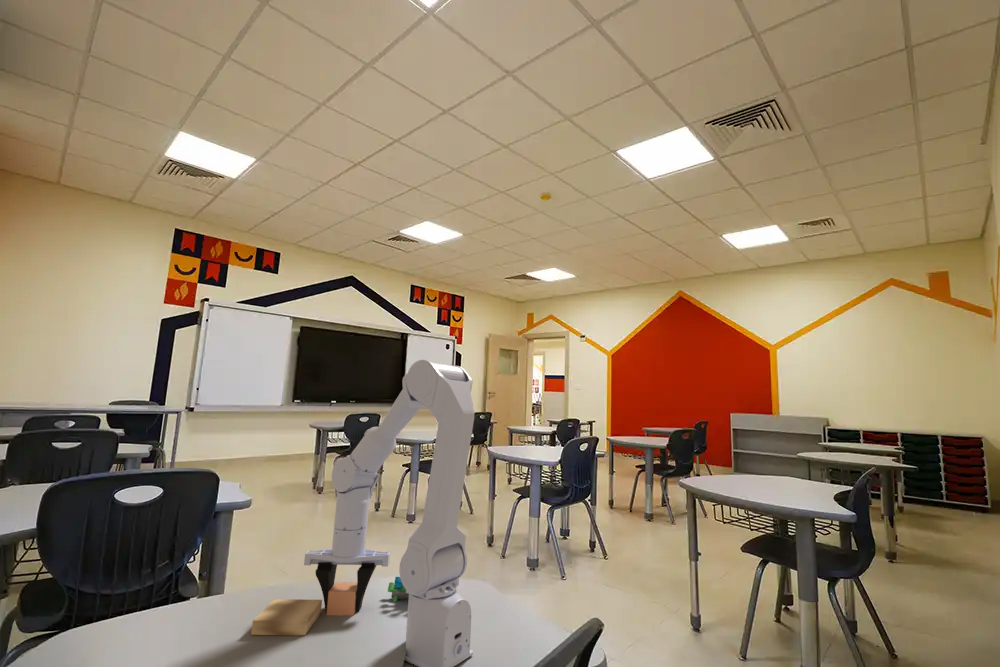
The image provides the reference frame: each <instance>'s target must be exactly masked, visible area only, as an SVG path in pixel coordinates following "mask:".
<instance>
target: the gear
mask: <svg viewBox="0 0 1000 667" xmlns="http://www.w3.org/2000/svg"><path fill="white" fill-rule="evenodd" d="M387 592H388V593H391V599H392V603H397V602H398V599H399V600H401V599H409V594H408V593H406V589H405V588H404V586H403V584H402V582H401V578H400V576H395V579H394V582H393V581H392V582H391V581H390V582H389V583H388V586H387Z"/></svg>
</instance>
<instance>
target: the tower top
mask: <svg viewBox="0 0 1000 667" xmlns="http://www.w3.org/2000/svg"><path fill="white" fill-rule="evenodd" d="M322 603H323V599H292V598H291V599H290V598H286V599H284V598H283V599H282V598H277V599H276V598H274V599H273V600H271V601H270V602H269V604H268V605H267V606H266V607H265V608H264V609H262V611H261V612H259V613H258V615H256V617H255V618H253V620H252V627H251V632H250V633H251V634H250V636H269V635H305V636H306V634H307V633H308V632H309V630H310V629H311V628H312V626H313V625H314V624H313V623H315V622H316V621H317V620H318V618H319V617H320V616H319V614H320V613H321V614H322V605H323V604H322ZM321 614H320V615H321ZM318 616H319V617H318ZM317 617H318V618H317ZM316 619H317V620H316ZM315 620H316V621H315ZM314 621H315V622H314ZM312 624H313V625H312ZM310 627H311V628H310ZM307 631H308V632H307Z"/></svg>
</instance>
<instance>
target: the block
mask: <svg viewBox="0 0 1000 667" xmlns="http://www.w3.org/2000/svg"><path fill="white" fill-rule="evenodd" d="M356 596H357V582H356V581H355V582H352V581H351V582H349V581H348V582H347V581H345V582H344V581H343V582H342V581H337V582H334V585H333V587H332V588H331V589H330V590H329V593H328V604H327V611H326V616H354V615H355V613H356V612H357V611H355V603H356Z"/></svg>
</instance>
